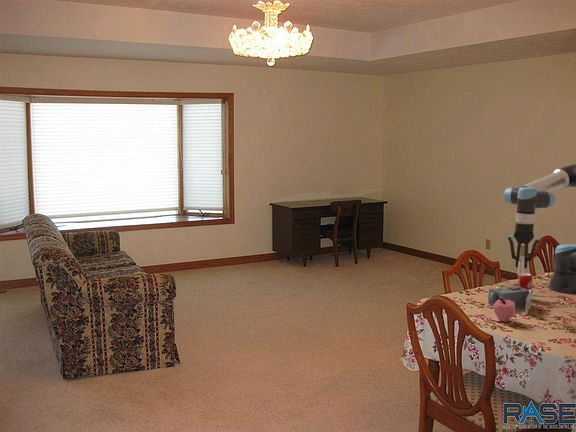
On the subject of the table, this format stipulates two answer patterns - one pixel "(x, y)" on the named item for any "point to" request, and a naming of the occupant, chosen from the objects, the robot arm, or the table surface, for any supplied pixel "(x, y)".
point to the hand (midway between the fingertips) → (520, 275)
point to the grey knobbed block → (508, 295)
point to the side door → (528, 302)
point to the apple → (504, 309)
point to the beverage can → (525, 281)
